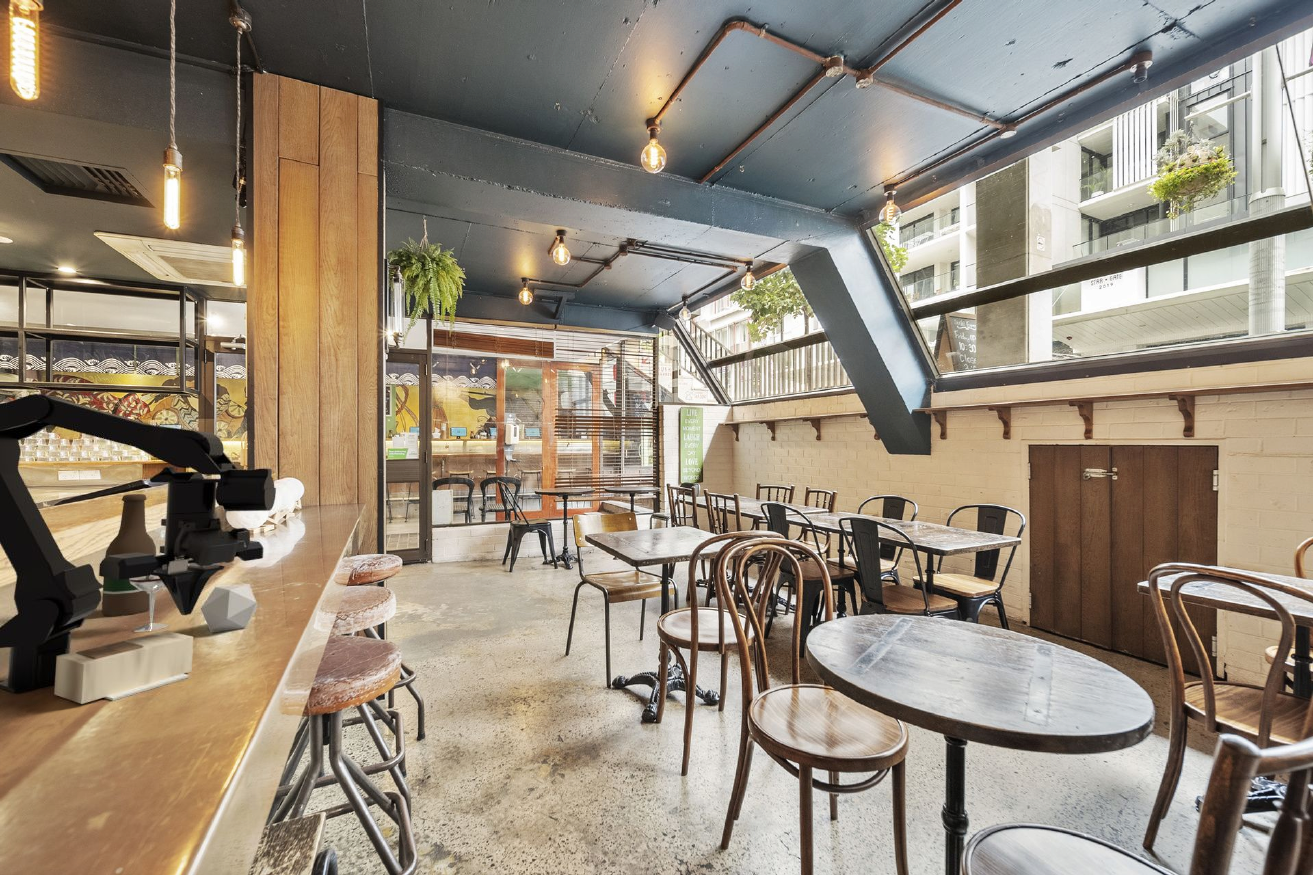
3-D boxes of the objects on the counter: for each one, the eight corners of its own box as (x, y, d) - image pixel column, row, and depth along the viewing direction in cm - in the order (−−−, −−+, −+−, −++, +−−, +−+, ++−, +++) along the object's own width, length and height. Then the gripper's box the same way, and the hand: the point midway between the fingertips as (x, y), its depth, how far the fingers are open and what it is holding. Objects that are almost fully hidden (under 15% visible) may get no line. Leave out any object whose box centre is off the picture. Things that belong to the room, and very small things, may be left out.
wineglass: (182, 621, 106) (185, 558, 106) (163, 631, 99) (166, 565, 100) (138, 623, 103) (142, 560, 104) (116, 634, 97) (120, 567, 98)
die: (261, 622, 108) (232, 583, 108) (274, 607, 103) (244, 566, 103) (215, 648, 101) (184, 607, 101) (227, 634, 96) (195, 590, 96)
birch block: (164, 663, 83) (54, 694, 72) (166, 629, 83) (56, 654, 72) (191, 670, 81) (81, 703, 69) (193, 635, 81) (84, 662, 70)
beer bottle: (148, 604, 117) (154, 492, 118) (158, 610, 112) (164, 494, 113) (97, 612, 111) (104, 494, 112) (105, 619, 106) (112, 496, 107)
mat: (73, 687, 75) (74, 685, 75) (150, 666, 83) (150, 664, 83) (112, 700, 71) (112, 698, 71) (189, 677, 79) (189, 675, 79)
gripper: (145, 520, 72) (138, 640, 71) (287, 509, 89) (282, 606, 88) (100, 516, 76) (93, 628, 75) (244, 506, 93) (239, 598, 93)
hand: (185, 614), depth 83 cm, fingers closed
